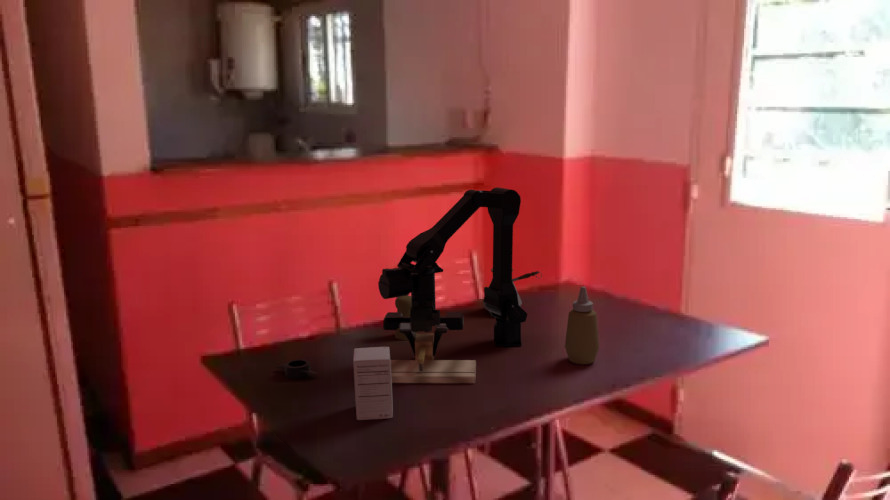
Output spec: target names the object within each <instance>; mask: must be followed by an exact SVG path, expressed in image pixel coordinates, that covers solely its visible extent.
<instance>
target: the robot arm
mask: <svg viewBox="0 0 890 500" xmlns="http://www.w3.org/2000/svg"><path fill="white" fill-rule="evenodd" d="M521 202H522V197H521V195H520V194H519V193H518V192H517V191H516V189H515V190H514V189H510V188H505V187H498V186H497V187H493V188H492V189H491V190H479V189H478V190H475V189H468V190H466V191H465V192H464V194H463V196H462V197H461V198H460V199H458V201H457V202H456V203H455V204H454V205H453V206H451V208H450V209H449V210H448V211H447V212H446V213H445V214H444V215H443V216H441V218H440V219H439V220H438V221H437V222H436V223H435V224H434V225H433V226H432V227H431V228H429V229H427V230H424V231H423V232H421V233H419V234H417V235H416V236H414V237H413V238H412V239H411V240H409V241H408V243H407V244H406V246H405V252H404V253H403V255H402V256H401V258H400V260H399V262H398V263H397V267H394V268H389V267H388V268H387V267H386V268H382V271H381V275H379V279H378V282H377V284H378V290H379V293H380V296H381V298H382V299H384V300H389V299H394V298H395V299H396V298H397V297H401V296H407V295H408V296H411V310H410V317H402V312H397V311H394V312H393V311H392V312H390V311H389V312H387V313H385V316H384V317H383V322H382V323H383V324H382V327H383V330H385V331H395V330H397V329H398V328H399V327H400V330H399V332H400V333H404V334H405V335H406V337H407V338H408V340H407V341H408V343H409V344H410V347H411V350H412V352H413V355H414V356H415V340H416V338H415V332H417V333H418V332H425V333H430V332H432V330H433V327H435V329H434V344H433V356H434V357H435V355H436V353H437V348H438V345H439V343H440V342H439V341H440V340H441V338H442V336H443V334H446V333H448V330H449V331H462V330H464V324H465V323H464V321H465V320H464V319H465V318H464V313H463V312H462V311H459V312H457V311H455V312H454V311H448V312H446V316H441V311H440V309H437V308H436V307H437V306H436V274H438V273H439V274H440V273H443V272H444V269H443V268H442V267H440V265H439V264H438V263H437V261H438V259H439V258H440V257H441V255H442V254H443V253H444V251H445V247H446V244H447V242H448V241H449V240H450V239H451V238H452V237H453V236H454V235H455V233H456V232H458V231H459V230H460V228H461V227H462V226H464V224H465V223H466V222H467V221H468V220H469V219H471V217H472V216H473V215H474V214H475V213H476V212H477V211H478V210H479V209H480V208H487V213H488V215H489V217H490V219H491V222H492V228H493V229H492V234H493V235H492V268H493V272H492V278H493V279H492V278H491V281H492V282H491V281H490V283H491V284H490V283H489V285H490V286H484V288H483V293H484V297H483V300H482V303H483V302H485V304H486V308H487V309H488V310H489V311H490V313H491V314H490V313H489V314H490V315H491V317H493V318H495V322H494V323H493V341H494V342H495V346H496V347H521V346H522V345H523V343H522V323H525V322H526V321H527V317H528V313H527V312H526V311H525V310H524V309H523V308H522V307H520V306H519V303H518V295H517V292H518V290H517V291H516V289H517V288H516V289H515V287H516V286H515V287H514V285H515V284H514V285H513V283H514V282H512V279H513V271H512V269H513V247H514V245H513V244H514V243H513V242H514V224H515V223H516V220H517V219H518V216H519V214H520V209H521ZM412 262H413V263H412ZM414 263H415V264H414ZM489 311H488V312H489Z"/></svg>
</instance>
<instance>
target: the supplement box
mask: <svg viewBox="0 0 890 500" xmlns="http://www.w3.org/2000/svg"><path fill="white" fill-rule="evenodd" d="M390 349H391V348H390V346H376V347H375V346H373V347H359V348H356V347H355V348H354V349H353V358H352V361H353V364H352V365H353V378H354V395H355V397H354V399H355V410H356V411H355V413H356V420H358V421H365V420H369V421H370V420H383V419H393V417H394V407H393V406H394V403H393V383H392V378H391V361H390V360H391V351H390Z"/></svg>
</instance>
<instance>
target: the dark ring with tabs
mask: <svg viewBox="0 0 890 500" xmlns="http://www.w3.org/2000/svg"><path fill="white" fill-rule="evenodd" d="M277 369H281V370H282V369H283V370H284V374H285V375H284V376H286V377H285V378H286V379H288V378H289V379H290V380H302V379H305V378H308V377H309V376H311V375H318V374H319V373H318V372H315V371H312V370H311V361H310V360H309V359H306V358H296V359H295V358H294V359H291V360H288V361H286V362H285V363H281V364H280V365H278V367H277Z"/></svg>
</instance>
